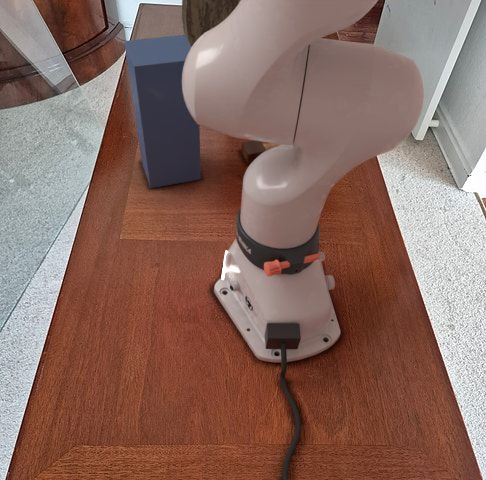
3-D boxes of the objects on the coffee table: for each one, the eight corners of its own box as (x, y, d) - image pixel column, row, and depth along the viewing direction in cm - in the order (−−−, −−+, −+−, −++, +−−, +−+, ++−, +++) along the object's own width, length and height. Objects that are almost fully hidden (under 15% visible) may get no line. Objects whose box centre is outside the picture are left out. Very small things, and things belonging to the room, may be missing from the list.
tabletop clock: (239, 48, 122) (245, -66, 102) (240, 66, 117) (247, -50, 97) (184, 46, 121) (180, -70, 101) (183, 64, 116) (178, -54, 96)
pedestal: (200, 179, 91) (198, 59, 71) (150, 188, 88) (134, 66, 69) (190, 154, 95) (185, 34, 76) (141, 162, 93) (124, 40, 73)
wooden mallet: (319, 138, 101) (321, 129, 99) (326, 150, 99) (329, 140, 97) (241, 151, 96) (242, 142, 95) (247, 163, 94) (248, 154, 92)
